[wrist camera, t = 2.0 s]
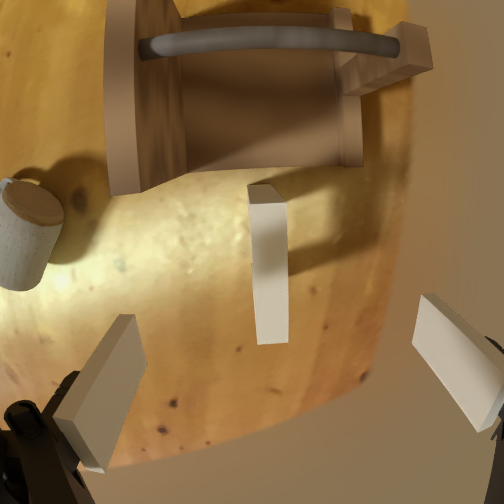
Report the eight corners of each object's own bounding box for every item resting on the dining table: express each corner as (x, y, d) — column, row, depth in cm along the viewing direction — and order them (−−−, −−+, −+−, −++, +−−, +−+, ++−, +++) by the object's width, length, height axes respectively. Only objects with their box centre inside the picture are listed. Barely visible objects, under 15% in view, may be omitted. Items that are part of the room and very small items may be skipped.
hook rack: (164, 26, 22) (110, -52, 9) (342, 21, 22) (408, -52, 9) (170, 174, 26) (105, 197, 13) (353, 165, 26) (442, 182, 13)
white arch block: (246, 185, 27) (249, 204, 17) (270, 183, 27) (286, 202, 17) (252, 283, 29) (257, 344, 20) (273, 281, 29) (288, 342, 20)
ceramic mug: (82, 211, 27) (36, 230, 19) (53, 274, 29) (12, 305, 21) (16, 157, 25) (-34, 163, 17) (-7, 220, 27) (-51, 238, 19)
